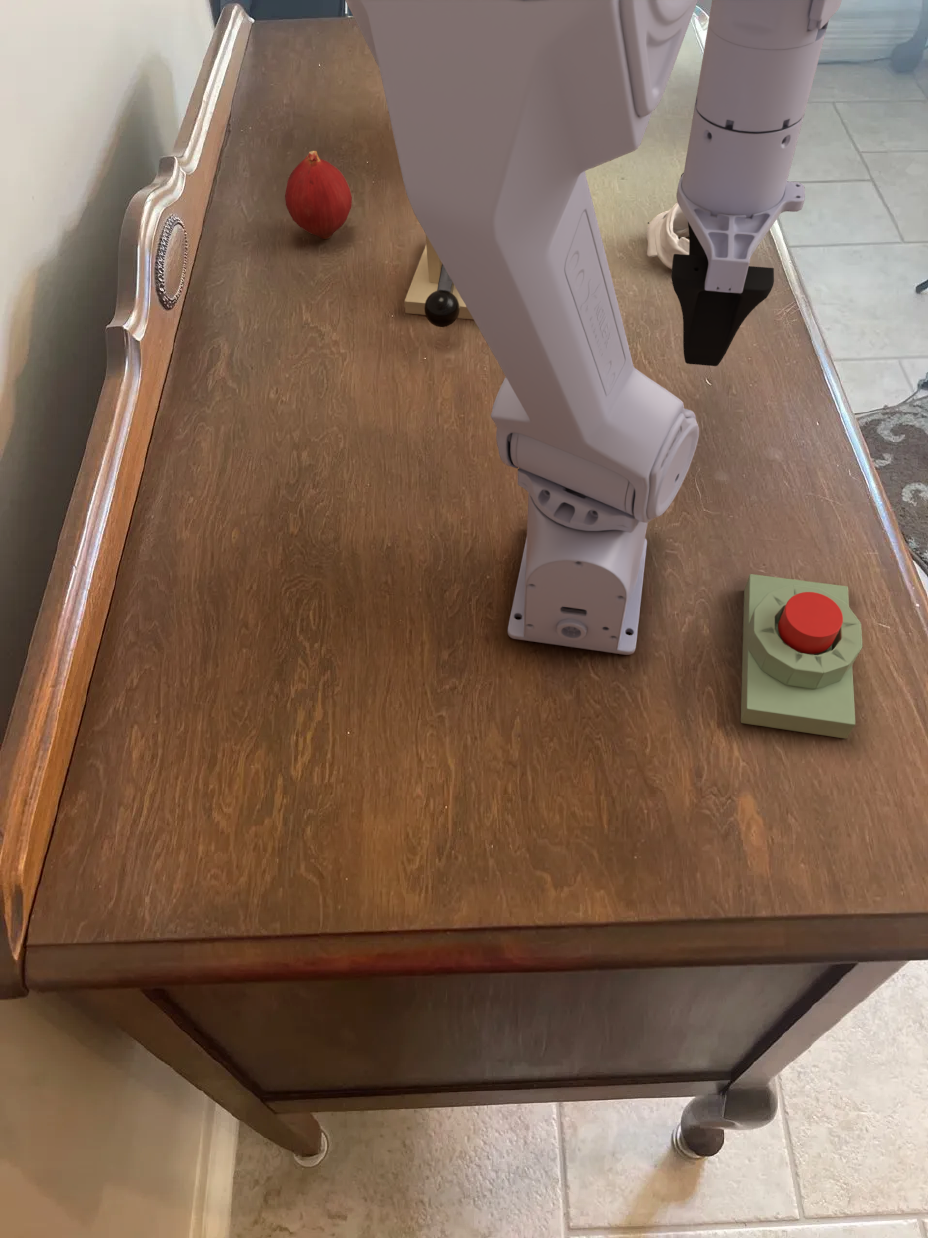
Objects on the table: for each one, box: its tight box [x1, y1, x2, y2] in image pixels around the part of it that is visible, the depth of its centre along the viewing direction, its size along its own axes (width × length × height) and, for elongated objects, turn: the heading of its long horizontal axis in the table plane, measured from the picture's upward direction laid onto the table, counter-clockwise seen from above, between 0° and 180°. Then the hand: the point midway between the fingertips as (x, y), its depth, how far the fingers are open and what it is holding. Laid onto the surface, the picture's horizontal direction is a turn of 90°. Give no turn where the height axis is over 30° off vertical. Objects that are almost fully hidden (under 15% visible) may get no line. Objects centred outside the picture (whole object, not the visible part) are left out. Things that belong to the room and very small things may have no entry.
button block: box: [740, 573, 863, 740], centre depth 55 cm, size 10×6×4 cm, turn 169°
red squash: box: [284, 150, 353, 240], centre depth 81 cm, size 6×6×8 cm
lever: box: [424, 264, 460, 328], centre depth 74 cm, size 12×3×3 cm, turn 169°
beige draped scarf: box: [645, 201, 689, 270], centre depth 80 cm, size 8×7×5 cm
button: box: [778, 592, 843, 654], centre depth 53 cm, size 3×3×2 cm
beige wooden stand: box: [403, 234, 474, 320], centre depth 76 cm, size 10×8×9 cm
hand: (703, 323), depth 60 cm, fingers open, 7 cm apart
